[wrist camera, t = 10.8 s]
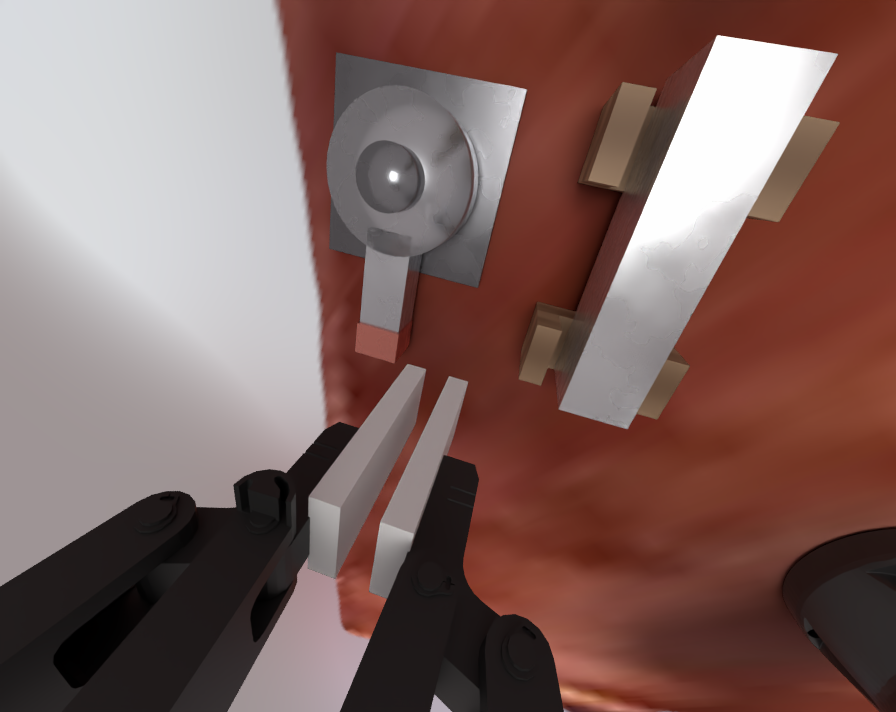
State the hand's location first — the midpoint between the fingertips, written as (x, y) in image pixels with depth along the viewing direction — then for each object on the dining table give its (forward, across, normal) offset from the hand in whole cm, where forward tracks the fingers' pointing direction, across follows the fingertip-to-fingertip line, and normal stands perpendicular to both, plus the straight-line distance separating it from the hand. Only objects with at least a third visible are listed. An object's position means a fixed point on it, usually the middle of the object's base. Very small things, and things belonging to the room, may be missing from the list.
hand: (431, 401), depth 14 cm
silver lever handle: (+14, +7, -3) cm, 15 cm away
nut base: (+14, +6, -7) cm, 17 cm away
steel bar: (+12, -8, -6) cm, 16 cm away
